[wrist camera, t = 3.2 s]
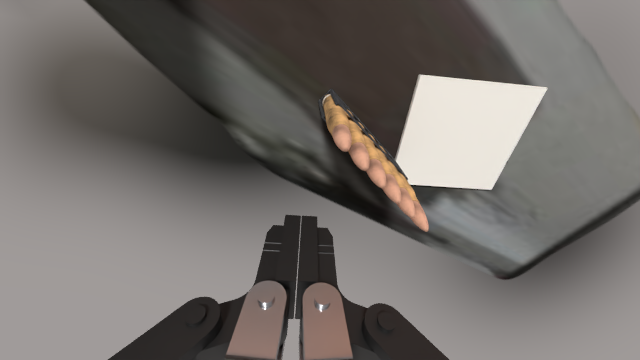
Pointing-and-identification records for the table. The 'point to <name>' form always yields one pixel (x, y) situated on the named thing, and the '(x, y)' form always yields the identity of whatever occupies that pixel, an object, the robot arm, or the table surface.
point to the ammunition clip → (370, 156)
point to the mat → (463, 130)
